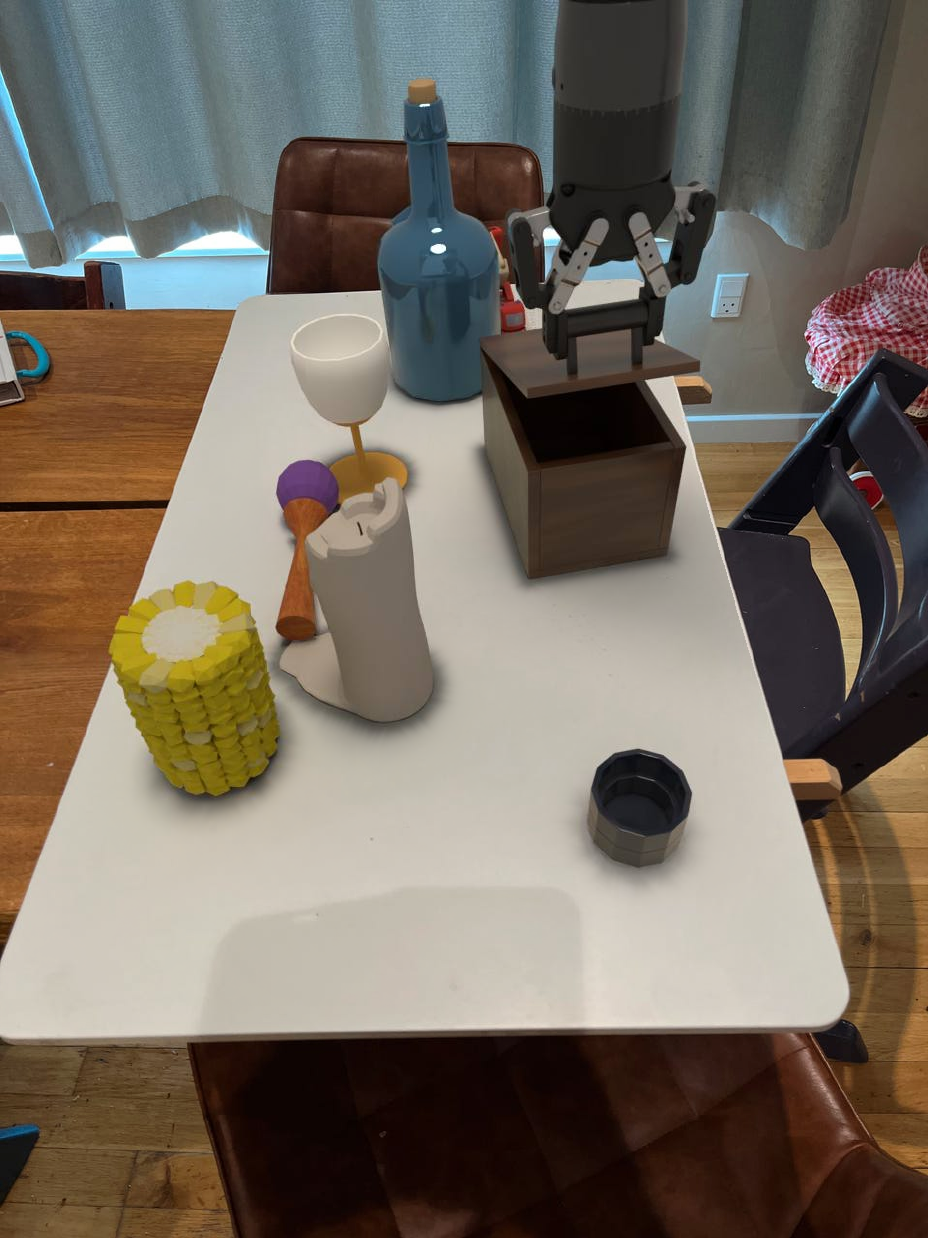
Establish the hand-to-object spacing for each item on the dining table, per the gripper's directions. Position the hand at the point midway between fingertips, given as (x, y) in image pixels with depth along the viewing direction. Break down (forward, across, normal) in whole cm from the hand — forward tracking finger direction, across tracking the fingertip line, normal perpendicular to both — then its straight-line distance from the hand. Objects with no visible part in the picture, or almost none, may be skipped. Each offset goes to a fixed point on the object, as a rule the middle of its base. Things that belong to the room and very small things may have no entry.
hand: (601, 347), depth 59 cm
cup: (+19, -20, +15) cm, 31 cm away
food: (+20, -33, -15) cm, 42 cm away
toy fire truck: (+19, +1, +44) cm, 48 cm away
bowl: (+20, -5, -28) cm, 35 cm away
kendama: (+19, -26, +4) cm, 33 cm away
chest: (+19, 0, +7) cm, 21 cm away
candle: (+20, -23, -10) cm, 32 cm away
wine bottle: (+19, -8, +33) cm, 39 cm away
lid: (+4, 0, +6) cm, 8 cm away
